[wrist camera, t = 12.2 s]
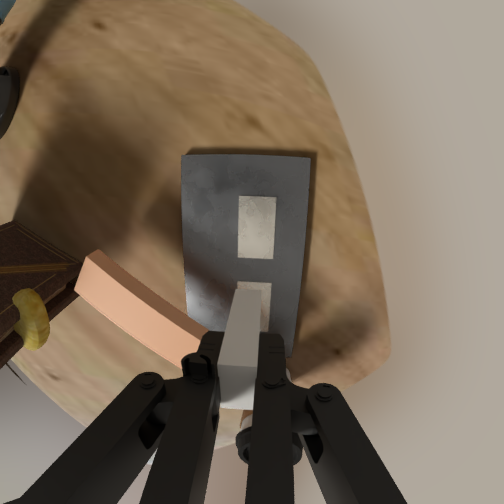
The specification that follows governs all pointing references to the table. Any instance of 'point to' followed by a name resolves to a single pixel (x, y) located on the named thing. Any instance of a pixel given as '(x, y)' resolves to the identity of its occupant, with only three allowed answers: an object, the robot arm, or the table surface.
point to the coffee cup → (245, 436)
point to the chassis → (244, 236)
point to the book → (31, 288)
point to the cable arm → (138, 309)
